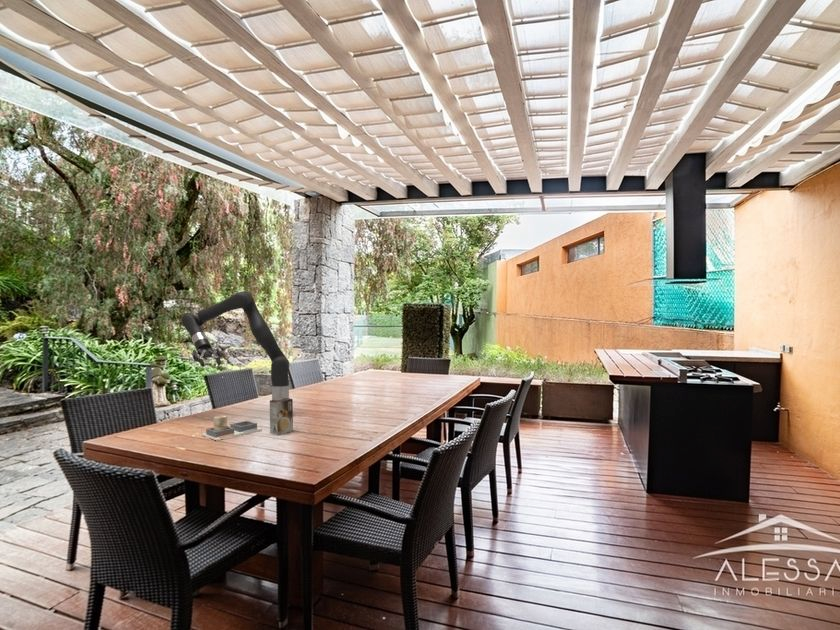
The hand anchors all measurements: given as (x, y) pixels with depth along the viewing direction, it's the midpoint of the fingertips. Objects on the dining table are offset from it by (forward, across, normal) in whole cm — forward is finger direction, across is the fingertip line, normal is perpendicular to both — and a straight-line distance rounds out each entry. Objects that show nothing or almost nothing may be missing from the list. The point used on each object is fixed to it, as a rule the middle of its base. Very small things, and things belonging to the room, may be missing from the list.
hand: (211, 365), depth 238 cm
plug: (+40, -10, +2) cm, 42 cm away
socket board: (+41, -4, +2) cm, 41 cm away
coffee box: (+53, +12, -10) cm, 56 cm away
